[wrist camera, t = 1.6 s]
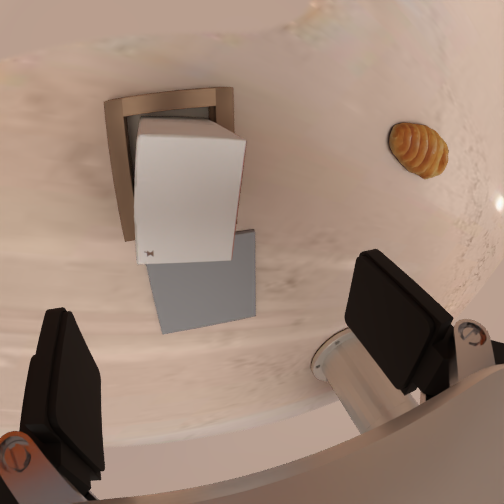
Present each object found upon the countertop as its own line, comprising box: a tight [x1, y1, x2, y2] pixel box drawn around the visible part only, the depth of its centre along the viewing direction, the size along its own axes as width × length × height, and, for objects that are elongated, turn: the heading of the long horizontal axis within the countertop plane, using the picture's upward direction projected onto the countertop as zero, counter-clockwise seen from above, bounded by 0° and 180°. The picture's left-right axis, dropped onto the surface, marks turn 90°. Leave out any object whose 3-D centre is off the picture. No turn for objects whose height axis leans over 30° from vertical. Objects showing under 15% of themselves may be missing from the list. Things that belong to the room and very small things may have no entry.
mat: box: [146, 229, 256, 334], centre depth 37 cm, size 12×12×1 cm
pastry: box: [389, 123, 449, 179], centre depth 35 cm, size 9×7×4 cm
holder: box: [104, 87, 237, 242], centre depth 28 cm, size 11×13×4 cm
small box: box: [134, 116, 247, 265], centre depth 24 cm, size 8×6×13 cm
